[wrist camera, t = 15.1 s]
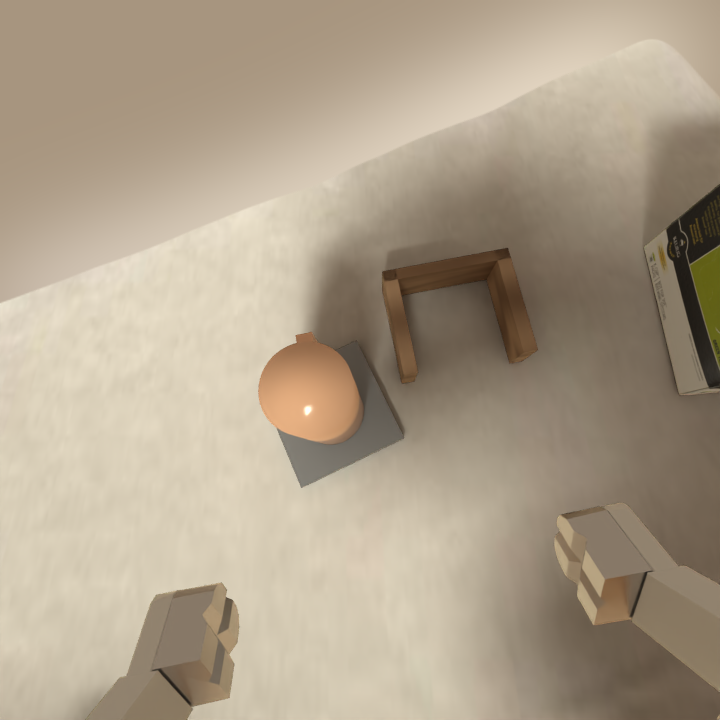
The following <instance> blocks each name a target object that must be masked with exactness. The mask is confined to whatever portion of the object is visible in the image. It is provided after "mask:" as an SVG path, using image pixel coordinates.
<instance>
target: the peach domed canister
mask: <svg viewBox="0 0 720 720" xmlns="http://www.w3.org/2000/svg"><path fill="white" fill-rule="evenodd" d="M296 341H297V343H296V344H292V345H290V346H287V347H285V348H284V349H282V350H280V351H279V352H278V353H276V354H275V355H274V356H273V357H272V358H271V359H270V361H269V362H268V363H267V365H266V366H265V368H264V370H263V372H262V375H261V378H260V382H259V390H258V392H259V401H260V405H261V408H262V410H263V412H264V414H265V416H266V417H267V418H268V420H269V421H270V422H271V423H272V424H273V425H274V426H275V427H277V428H278V429H280V430H281V431H283V432H285V433H287V434H290V435H294V436H297V437H301V438H304V439H307V440H311V441H314V442H318V443H321V444H326V445H335V444H340V443H342V442H345V441H347V440H348V439H350V438H351V437H352V436H353V435H354V434H355V433H356V432H357V431H358V429H359V428H360V426H361V424H362V421H363V417H364V405H363V401H362V398H361V396H360V393H359V391H358V388H357V386H356V383H355V381H354V378H353V376H352V373H351V371H350V368H349V366H348V364H347V363H346V361H345V360H344V358H343V357H342V356H341V355H340V354H339V353H338V352H336V351H335V350H334V349H332V348H330V347H329V346H326V345H324V344H321V343H318V342H317V340H316V338H315V337H314V335H313V333H312V332H309V333H304V334H299V335H296Z"/></svg>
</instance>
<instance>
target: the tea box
mask: <svg viewBox="0 0 720 720" xmlns="http://www.w3.org/2000/svg"><path fill="white" fill-rule="evenodd" d="M644 250H645V254H646V259H647V262H648V266H649V271H650V275H651V279H652V283H653V287H654V292H655V296H656V300H657V304H658V308H659V312H660V317H661V321H662V325H663V329H664V334H665V338H666V342H667V346H668V350H669V354H670V358H671V362H672V367H673V371H674V375H675V379H676V384H677V388H678V392H679V394H680V395H696V394H707V393H719V392H720V184H719V185H718V186H717V187H716V188H714V189H713V190H712V191H711V192H710V193H708V194H707V195H706V196H705V197H703V198H702V199H701V200H700V201H699V202H697V203H696V204H695V205H694V206H692V207H691V208H690V209H689V210H688V211H686V212H685V213H684V214H683V215H682V216H680V217H679V218H678V219H677V220H675V221H674V222H673V223H672V224H671V225H669V226H668V227H667V228H666V229H665V230H664V231H662V232H661V233H660V234H659V235H658V236H656V237H655V238H654V239H653V240H652V241H651V242H649V243H648V244H647V245H646V246H645V247H644Z"/></svg>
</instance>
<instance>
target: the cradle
mask: <svg viewBox="0 0 720 720" xmlns="http://www.w3.org/2000/svg"><path fill="white" fill-rule="evenodd" d="M481 280H487V283H488V287H489V291H490V294H491V298H492V301H493V305H494V309H495V312H496V316H497V320H498V323H499V327H500V331H501V334H502V338H503V341H504V345H505V349H506V352H507V356H508V360H509V363H514V362H520V361H523V360H524V359H526V358H527V357H529V356H530V355H532V354H533V353H534V352H536V351H537V350H538V348H537V345H536V341H535V338H534V335H533V331H532V328H531V324H530V321H529V318H528V314H527V311H526V307H525V304H524V301H523V297H522V294H521V290H520V287H519V284H518V280H517V277H516V274H515V270H514V267H513V263H512V260H511V257H510V253H509V250H508V248H505V249H499V250H494V251H489V252H483V253H478V254H473V255H468V256H462V257H457V258H452V259H446V260H441V261H436V262H430V263H425V264H420V265H414V266H409V267H404V268H399V269H393V270H388V271H383V272H382V291H383V295H384V300H385V305H386V310H387V315H388V320H389V324H390V329H391V334H392V339H393V344H394V348H395V353H396V358H397V363H398V368H399V372H400V377H401V382H402V383H407V382H412V381H415V379H416V376H417V374H418V369H417V365H416V360H415V356H414V351H413V347H412V342H411V337H410V333H409V328H408V324H407V319H406V315H405V310H404V305H403V301H402V296H401V295H407V294H412V293H417V292H423V291H428V290H433V289H439V288H444V287H449V286H455V285H460V284H465V283H471V282H476V281H481Z"/></svg>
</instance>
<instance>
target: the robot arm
mask: <svg viewBox="0 0 720 720" xmlns="http://www.w3.org/2000/svg"><path fill="white" fill-rule="evenodd" d="M556 525H557V527H558V528H559V530H560V532H559V533H558V534H557V535H556V536H555V540H554V547H555V552H556V556H557V559H558V561H559V564H560V566H561V568H562V570H563V572H564V574H565V575H566V577H567V578H569V579H570V580H572V581H573V582H574V583H576V584H577V585H578V590H577V597H578V599H579V601H580V602H581V604H582V606H583V608H584V609H585V611H586V613H587V615H588V617H589V618H590V620H591V622H592V624H593V625H600V624H606V623H612V622H618V621H624V620H630V619H632V621H631V622H633V623H634V624H635V625H636V626H638V627H639V628H640V629H641V630H643V631H644V632H645V633H646V634H648V635H649V636H650V637H651V638H653V639H654V640H655V641H656V642H658V643H659V644H660V645H661V646H662V647H664V648H665V649H666V650H667V651H669V652H670V653H671V654H672V655H674V656H675V657H676V658H677V659H679V660H680V661H681V662H682V663H684V664H685V665H686V666H687V667H689V668H690V669H691V670H692V671H694V672H695V673H696V674H697V675H698V676H700V677H701V678H702V679H703V680H705V681H706V682H707V683H708V684H710V685H711V686H712V687H713V688H715V689H716V690H717V691H718V692H720V584H718V583H716V582H714V581H712V580H711V579H709V578H707V577H705V576H704V575H702V574H700V573H698V572H696V571H695V570H693V569H691V568H689V567H688V566H686V565H684V566H678V565H677V564H676V563H675V561H674V560H673V559H672V558H671V557H670V555H669V554H668V553H667V552H666V551H665V549H664V548H663V547H662V546H661V544H660V543H659V542H658V541H657V540H656V538H655V537H654V536H653V535H652V534H651V532H650V531H649V530H648V529H647V528H646V526H645V525H644V524H643V523H642V522H641V520H640V519H639V518H638V517H637V516H636V514H635V513H634V512H633V511H632V510H631V508H630V507H629V506H628V505H626V504H624V503H616V504H611V505H606V506H601V507H594V508H589V509H585V510H580V511H576V512H571V513H566V514H562V515H559V516H558V517H557V523H556ZM226 593H227V589H226V588H225V586H224V585H223V583H222V582H221V583H216V584H211V585H206V586H200V587H195V588H190V589H185V590H177V591H173V592H168V593H163V594H158V595H156V596H155V598H154V599H153V601H152V602H151V604H150V607H149V610H148V613H147V616H146V619H145V622H144V625H143V628H142V631H141V634H140V637H139V640H138V643H137V646H136V649H135V652H134V655H133V658H132V661H131V664H130V667H129V670H128V673H127V676H124V677H120V678H119V679H118V680H117V682H116V683H115V684H114V685H113V687H112V688H111V689H110V690H109V691H108V693H107V694H106V695H105V696H104V698H103V699H102V700H101V701H100V703H99V704H98V705H97V706H96V707H95V709H94V710H93V711H92V712H91V714H90V715H89V716H88V717H87V718H86V720H187V718H188V717H189V715H190V713H191V711H192V710H193V709H192V707H193V706H197V705H202V704H206V703H210V702H215V701H219V700H223V699H228V698H230V691H231V684H232V678H233V671H234V662H233V660H232V658H231V656H230V655H229V654H230V653H231V651H232V650H233V648H234V647H235V645H236V644H237V642H238V634H239V614H238V610H237V606H236V604H235V603H234V601H233V600H231V599H229V598H227V597H226ZM717 720H720V714H719V716H718V717H717Z"/></svg>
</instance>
